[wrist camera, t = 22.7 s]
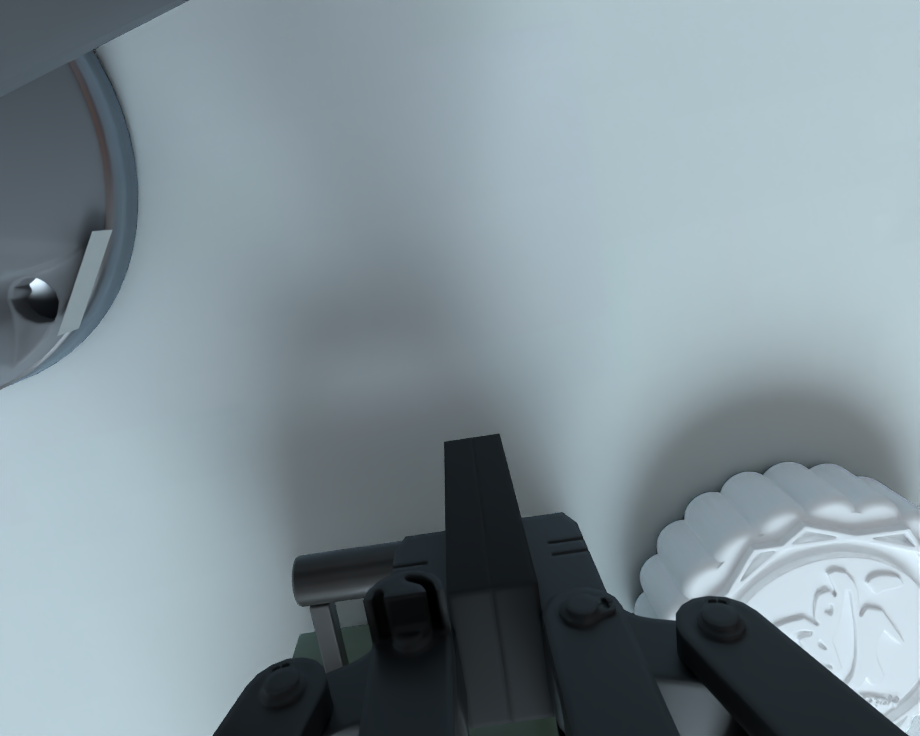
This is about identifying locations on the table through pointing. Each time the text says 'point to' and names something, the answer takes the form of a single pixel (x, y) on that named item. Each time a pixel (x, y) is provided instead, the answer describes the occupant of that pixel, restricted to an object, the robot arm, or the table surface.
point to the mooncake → (807, 571)
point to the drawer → (335, 647)
